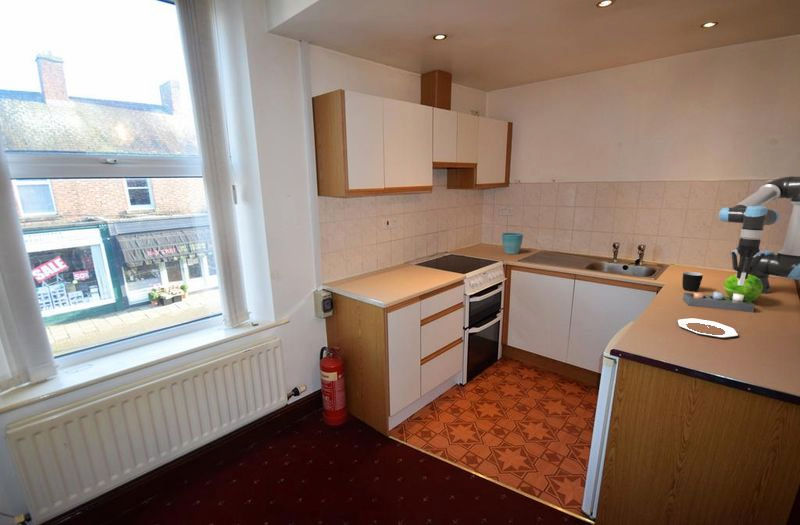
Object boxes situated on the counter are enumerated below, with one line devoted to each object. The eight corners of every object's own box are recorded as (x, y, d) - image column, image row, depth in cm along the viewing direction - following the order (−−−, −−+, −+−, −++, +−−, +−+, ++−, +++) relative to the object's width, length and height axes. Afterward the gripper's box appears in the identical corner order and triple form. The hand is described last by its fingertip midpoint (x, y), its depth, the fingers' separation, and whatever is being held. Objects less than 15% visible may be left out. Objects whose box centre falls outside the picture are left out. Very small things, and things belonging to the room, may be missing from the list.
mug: (701, 293, 210) (704, 276, 208) (682, 291, 214) (685, 274, 212) (696, 287, 220) (699, 271, 218) (678, 285, 224) (681, 269, 222)
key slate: (720, 299, 190) (722, 292, 189) (723, 301, 186) (725, 294, 185) (711, 298, 192) (712, 291, 191) (713, 300, 188) (715, 293, 187)
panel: (744, 305, 189) (745, 298, 188) (753, 312, 180) (754, 304, 179) (682, 299, 199) (683, 292, 198) (688, 305, 190) (689, 298, 189)
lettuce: (713, 290, 212) (748, 297, 205) (725, 301, 192) (764, 310, 185) (723, 266, 207) (759, 272, 201) (735, 275, 188) (776, 283, 181)
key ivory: (740, 301, 187) (742, 293, 186) (743, 303, 183) (745, 296, 182) (730, 300, 188) (731, 292, 187) (733, 302, 185) (735, 295, 184)
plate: (741, 343, 148) (741, 340, 147) (680, 333, 158) (680, 330, 157) (730, 327, 164) (731, 323, 164) (675, 318, 174) (676, 315, 174)
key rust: (701, 300, 193) (702, 292, 192) (703, 302, 190) (705, 295, 189) (691, 299, 195) (693, 292, 194) (694, 301, 191) (695, 294, 190)
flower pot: (501, 254, 318) (502, 235, 315) (499, 250, 336) (500, 232, 332) (523, 255, 316) (524, 235, 312) (520, 251, 333) (521, 232, 329)
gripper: (764, 238, 179) (753, 284, 184) (730, 236, 184) (721, 281, 190) (771, 240, 173) (760, 288, 178) (736, 238, 178) (726, 285, 183)
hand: (740, 284), depth 184 cm, fingers closed
